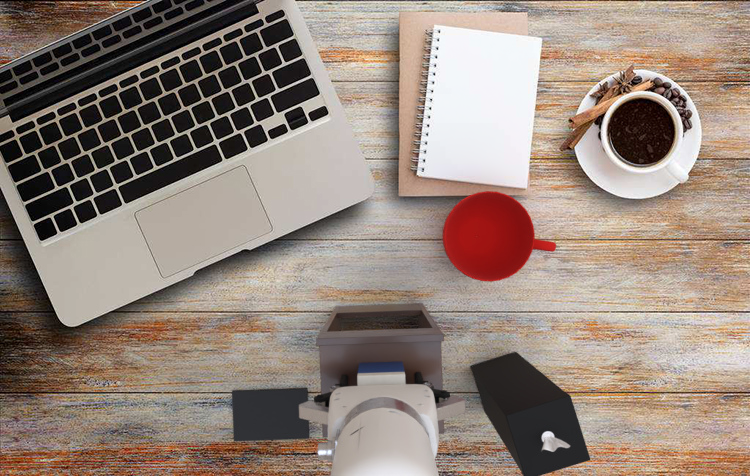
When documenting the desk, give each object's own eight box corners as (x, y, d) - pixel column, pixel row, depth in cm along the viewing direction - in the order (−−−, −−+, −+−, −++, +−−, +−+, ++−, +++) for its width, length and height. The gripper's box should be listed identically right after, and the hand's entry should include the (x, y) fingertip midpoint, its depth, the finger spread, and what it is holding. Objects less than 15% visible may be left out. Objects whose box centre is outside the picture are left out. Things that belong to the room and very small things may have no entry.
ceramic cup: (534, 286, 87) (554, 292, 77) (430, 269, 88) (437, 274, 78) (547, 206, 87) (569, 202, 77) (443, 190, 88) (451, 184, 77)
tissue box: (469, 365, 88) (512, 425, 60) (516, 350, 88) (581, 403, 60) (484, 411, 88) (533, 493, 60) (530, 397, 87) (602, 472, 59)
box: (404, 404, 63) (406, 422, 57) (360, 406, 63) (358, 424, 57) (402, 361, 63) (405, 374, 57) (359, 362, 63) (357, 376, 57)
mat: (309, 437, 88) (308, 438, 87) (234, 440, 88) (233, 441, 87) (307, 387, 88) (306, 388, 87) (232, 390, 88) (231, 391, 87)
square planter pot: (425, 377, 88) (447, 443, 60) (338, 380, 88) (319, 448, 60) (422, 303, 88) (443, 334, 60) (335, 306, 88) (315, 338, 60)
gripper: (276, 496, 44) (305, 422, 61) (493, 489, 44) (460, 417, 61) (273, 403, 44) (303, 355, 61) (490, 396, 44) (457, 350, 61)
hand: (381, 386), depth 61 cm, fingers open, 7 cm apart
